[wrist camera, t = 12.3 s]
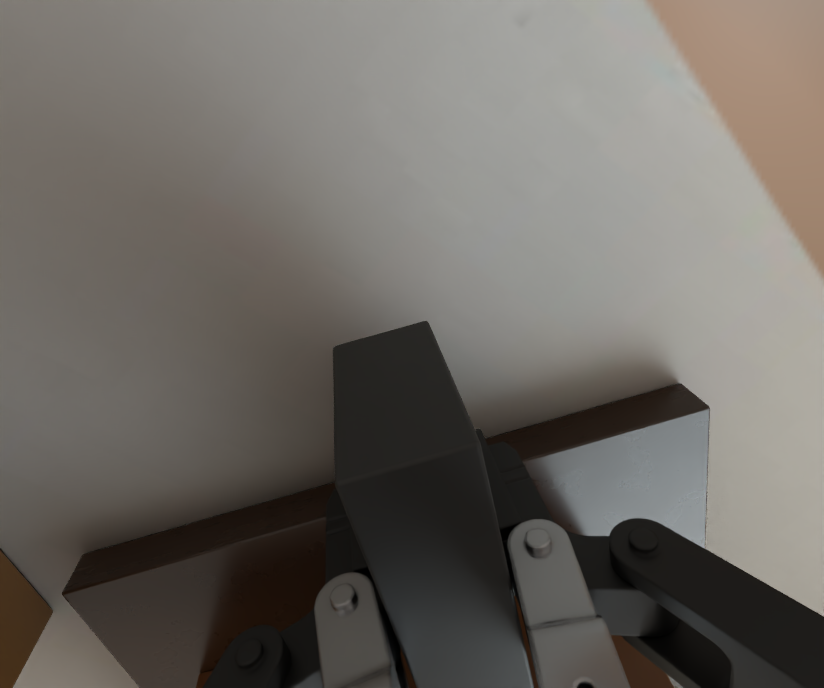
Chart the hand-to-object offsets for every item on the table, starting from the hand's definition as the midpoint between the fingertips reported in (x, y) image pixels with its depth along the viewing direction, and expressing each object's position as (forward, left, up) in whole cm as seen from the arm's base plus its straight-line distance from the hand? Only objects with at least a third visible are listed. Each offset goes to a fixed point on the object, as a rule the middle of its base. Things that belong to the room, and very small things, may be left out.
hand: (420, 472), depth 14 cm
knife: (+6, 0, 0) cm, 6 cm away
